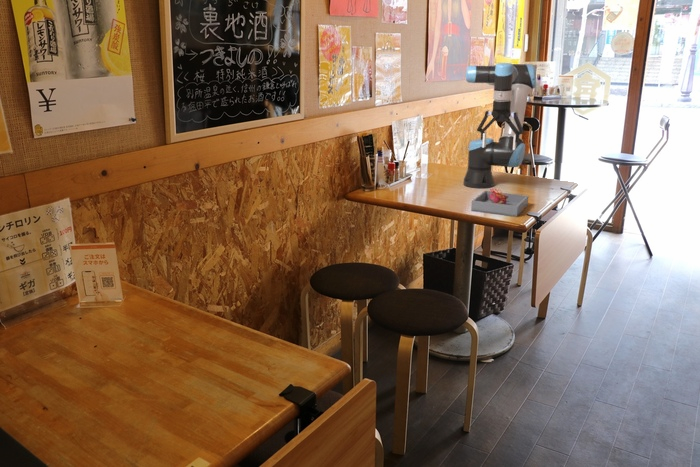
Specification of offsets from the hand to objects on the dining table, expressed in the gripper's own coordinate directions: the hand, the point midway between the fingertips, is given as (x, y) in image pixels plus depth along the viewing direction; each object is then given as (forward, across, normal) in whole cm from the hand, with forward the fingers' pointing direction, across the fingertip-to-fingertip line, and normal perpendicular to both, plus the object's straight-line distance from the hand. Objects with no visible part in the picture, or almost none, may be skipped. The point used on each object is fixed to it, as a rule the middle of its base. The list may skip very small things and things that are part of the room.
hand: (498, 148), depth 258 cm
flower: (+23, +5, -14) cm, 27 cm away
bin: (+23, +6, -14) cm, 28 cm away
